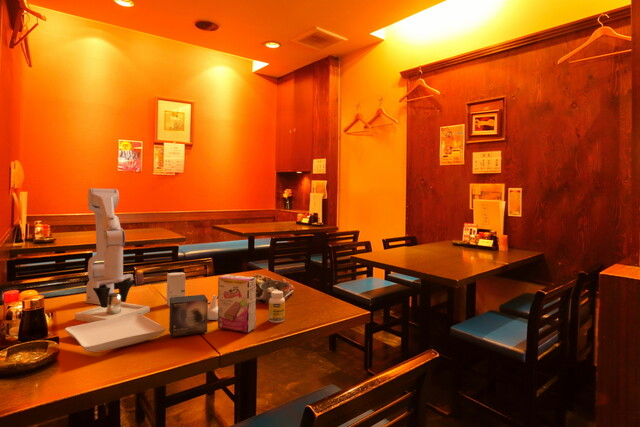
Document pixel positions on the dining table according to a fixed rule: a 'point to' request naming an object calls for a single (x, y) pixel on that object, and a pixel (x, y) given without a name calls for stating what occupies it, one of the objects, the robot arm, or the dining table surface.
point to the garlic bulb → (213, 309)
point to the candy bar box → (236, 303)
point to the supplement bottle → (276, 307)
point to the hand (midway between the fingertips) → (113, 304)
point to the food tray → (270, 288)
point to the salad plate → (115, 332)
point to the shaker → (114, 303)
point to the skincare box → (175, 285)
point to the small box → (188, 315)
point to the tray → (101, 314)
